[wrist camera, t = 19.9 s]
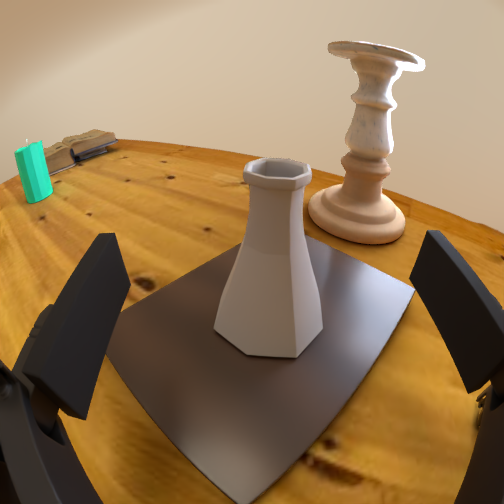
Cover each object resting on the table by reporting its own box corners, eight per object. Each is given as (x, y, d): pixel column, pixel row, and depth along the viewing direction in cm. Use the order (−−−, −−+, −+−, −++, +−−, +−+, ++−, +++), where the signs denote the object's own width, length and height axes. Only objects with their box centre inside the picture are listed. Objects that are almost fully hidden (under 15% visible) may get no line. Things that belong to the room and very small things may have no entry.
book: (31, 184, 48) (25, 161, 45) (28, 172, 57) (24, 153, 54) (120, 150, 63) (117, 128, 59) (102, 144, 72) (99, 126, 69)
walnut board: (244, 509, 9) (243, 509, 8) (98, 341, 18) (91, 328, 17) (410, 302, 21) (416, 289, 20) (277, 234, 29) (277, 221, 28)
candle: (56, 192, 42) (42, 132, 35) (29, 206, 38) (13, 145, 31) (49, 187, 45) (37, 132, 38) (25, 199, 41) (11, 143, 34)
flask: (305, 376, 15) (346, 217, 9) (194, 336, 17) (165, 183, 11) (333, 294, 20) (361, 160, 14) (243, 269, 22) (241, 142, 16)
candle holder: (394, 259, 26) (434, 53, 14) (289, 222, 31) (298, 36, 20) (408, 214, 34) (433, 69, 22) (328, 188, 40) (339, 52, 28)
